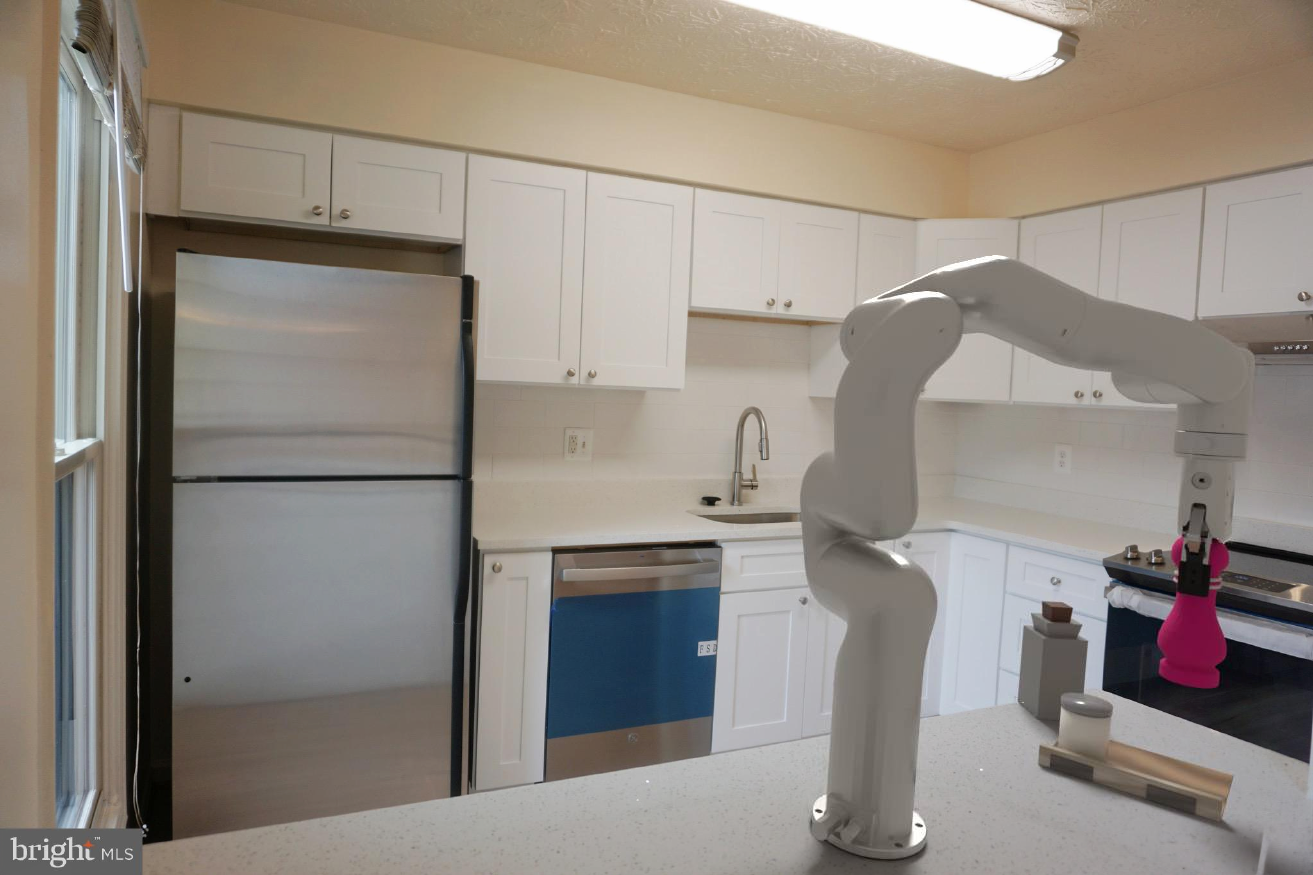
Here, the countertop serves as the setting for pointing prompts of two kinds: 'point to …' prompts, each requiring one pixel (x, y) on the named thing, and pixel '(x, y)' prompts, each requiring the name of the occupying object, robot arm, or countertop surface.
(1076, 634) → the perfume bottle
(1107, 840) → the countertop surface
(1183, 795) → the shelf
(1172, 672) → the pepper mill
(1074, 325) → the robot arm
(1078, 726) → the jar
